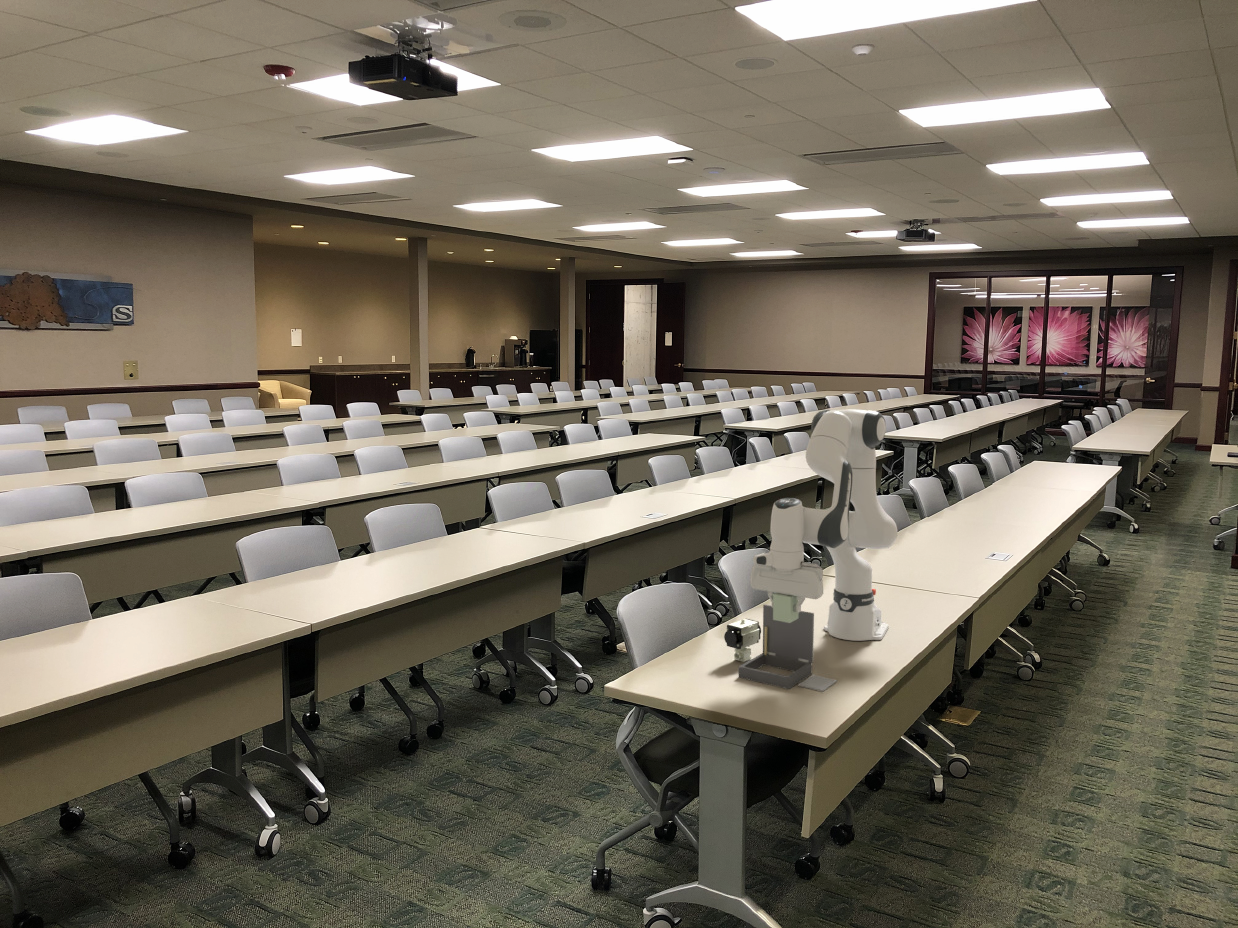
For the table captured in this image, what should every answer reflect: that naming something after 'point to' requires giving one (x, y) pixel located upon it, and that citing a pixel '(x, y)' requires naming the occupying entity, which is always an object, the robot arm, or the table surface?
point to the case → (783, 650)
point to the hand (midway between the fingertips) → (786, 609)
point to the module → (784, 607)
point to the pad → (817, 683)
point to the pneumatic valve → (742, 637)
